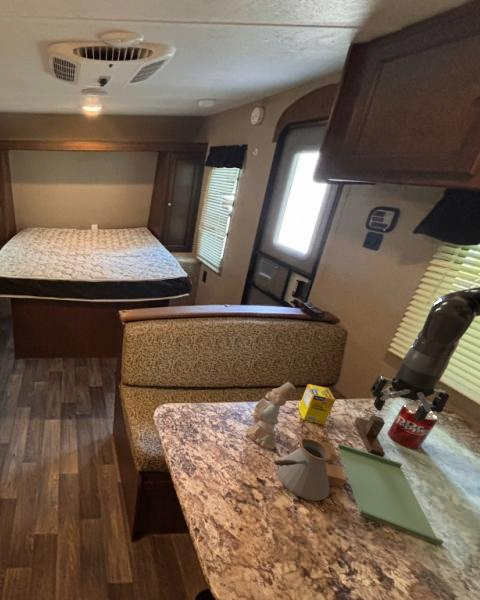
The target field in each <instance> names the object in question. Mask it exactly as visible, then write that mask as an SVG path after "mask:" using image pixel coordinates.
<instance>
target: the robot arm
mask: <svg viewBox="0 0 480 600" xmlns="http://www.w3.org/2000/svg"><path fill="white" fill-rule="evenodd" d="M477 317H480V286H479V287H478V286H477V287H473V288H468V289H462V290H458V291H453V292H449V293H446V294H443V295H441V296H439V297H438V298H437V299H436V300H435V302H433V304H432V306H431V308H430V310H429V311H428V315H427V316H426V319H425V321H424V324H423V326H422V329H421V330H420V331H419V333H418V334H417V336H416V337H415V339H414V341H413V343H412V346H411V347H410V348H409V350H408V351H407V352H406V354H405V356H404V357H403V359H402V362H401V364H400V366H399V368H398V370H397V372H396V374H395V377H393V378H389V377H385V375H383V374H379V375H378V376H377V378H376V379H375V381H374V383H373V384H372V386H371V388H370V392H371V394H372V396H373V397H376V398H375V399H374V401H373V405H374V407H375V409H376V411H379V412H381V411H382V409H383V407H384V406H385V404H386V401H387V400H389V399H395V398H398V397H399V398H402V399H408V400H410V401H415V402H416V401H418V402H419V403H420V406H419V407H418V409H417V411H416V413H415V414H414V418H415V419H416V421H421V420H424V419H425V418H426V416H427V414H428V413H429V412H431V411H432V412H436V413H442V412H443V410H444V408H445V406H446V403H448V400H449V398H450V395H449V393H448V392H447V391H446V390H445V389H444V388H439V389H435V388H437V386H438V384H439V382H440V381H441V379H442V377H443V375H444V374H445V372H446V370H447V368H448V367H449V363H450V360H451V359H452V357H453V355H454V353H455V352H456V350H457V348H458V346H459V343H460V340H461V339H462V338H463V336H464V335H465V334H466V332H467V331H468V329H469V328H470V327H471V325H472V324H473V322H474V320H475V319H476V318H477ZM388 385H389V386H388ZM384 388H385V389H384ZM432 395H433V396H434V398H433V400H432V402H431V403H429V402H428V400H427V397H430V396H432Z"/></svg>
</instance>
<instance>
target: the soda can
mask: <svg viewBox="0 0 480 600" xmlns="http://www.w3.org/2000/svg"><path fill="white" fill-rule="evenodd" d="M419 406H421V404H420V405H419V404H416V403H404V404H403V405H402V406H401V408H400V410H399V411H398V413H397V415H396V417H395V419H394V420H393V422H392V424H391V425H390V427H389V428H388V431H387V432H386V434H387V436H388V437H389V438H390V439H391V440H392V441H393V442H394V443H396V444H398V445H400V446H401V447H404V448H407V449H408V450H409V449H410V450H414V451H415V450H416V451H417V450H419V449H421V447H422V445H423V444H424V442H425V441H426V439H427V438H428V436H430V433H431V432H432V431H433V429H434V427H435V426H436V425H437V423H438V416H437V415H436V414H435V413H434V411H431V412H429V413H428V414H427V416H426V418H425V419H424V420H421V421H416V419H415V418H414V414H415V413H416V411H417V409H418V407H419Z"/></svg>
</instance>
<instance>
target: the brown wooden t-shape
mask: <svg viewBox="0 0 480 600" xmlns="http://www.w3.org/2000/svg"><path fill="white" fill-rule="evenodd" d="M385 424H386V422H385V420H384V419H383V417H381V416H378V415H374V414H371V416H370V418H369V419H365V418H362V417H358V416H356V418H355V420H354V425H355V427H356V429H357V431H358V433H359V435H360V437H361V440H362V442H363V445H364V447H365V449H366V452H368V453H371V454H374V455H377V456H380V457H384V456H385V454H386V453H385V451H384V449H383V447H382V445H381V442H380V441H379V439H378V436H379V434H380V433H381V431H382V429H383V427H385V426H384V425H385Z"/></svg>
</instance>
